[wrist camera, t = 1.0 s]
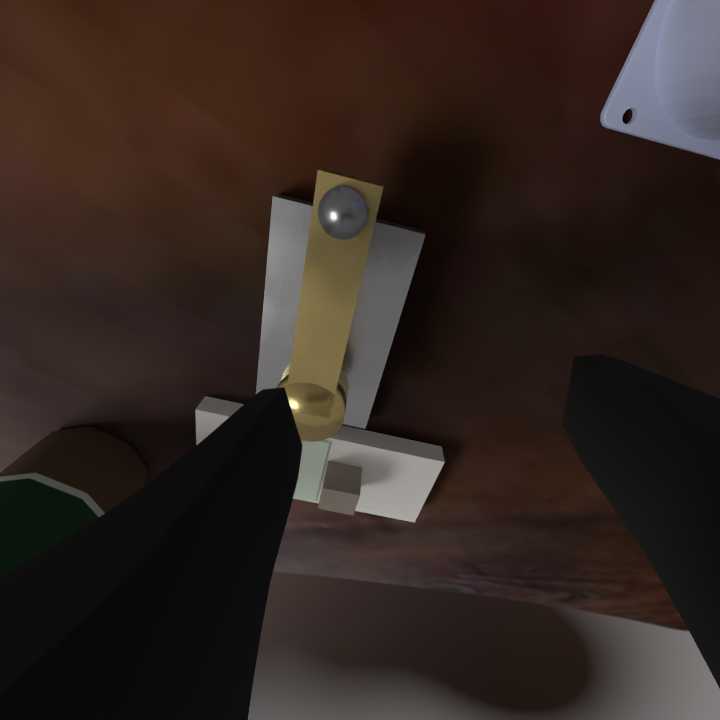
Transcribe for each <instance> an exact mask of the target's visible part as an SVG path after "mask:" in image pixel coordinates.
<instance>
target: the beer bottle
mask: <svg viewBox="0 0 720 720" xmlns="http://www.w3.org/2000/svg"><path fill="white" fill-rule="evenodd" d="M148 475H149V468H148V467H147V465H146V464H145V462H144V461H143V460H142V458H141V457H140V455H139V454H138V453H137V451H136V450H135V449H134V447H133V446H132V444H131V443H129V442H127V441H125V440H123V439H121V438H118V437H116V436H114V435H112V434H109V433H107V432H105V431H103V430H100V429H98V428H96V427H94V426H87V427H79V428H72V429H64V430H58V431H55V432H52V433H51V434H49V435H48V436H47V437H45V438H44V439H43V440H41V441H40V442H38V443H37V444H36V445H34V446H33V447H32V448H30V449H29V450H28V451H27V452H25V453H24V454H23V455H22V456H20V457H19V458H18V459H17V460H16V461H14V462H13V463H12V464H11V465H10V466H8V467H7V468H6V469H5V470H3V471H2V472H1V473H0V576H2V575H4V574H6V573H7V572H9V571H11V570H13V569H14V568H16V567H18V566H20V565H21V564H23V563H25V562H27V561H28V560H30V559H32V558H34V557H35V556H37V555H39V554H40V553H42V552H44V551H46V550H47V549H49V548H50V547H52V546H54V545H55V544H57V543H58V542H60V541H62V540H63V539H65V538H66V537H68V536H70V535H71V534H73V533H74V532H76V531H78V530H79V529H81V528H82V527H84V526H86V525H87V524H89V523H90V522H92V521H94V520H95V519H97V518H98V517H100V516H102V515H103V514H105V513H106V512H108V511H109V510H111V509H112V508H114V507H115V506H117V505H118V504H120V503H121V502H123V501H124V500H125V499H127V498H128V497H130V496H131V495H133V494H134V493H135V492H137V491H138V490H140V489H141V488H142V487H143V485H144V483H145V481H146V479H147V477H148Z"/></svg>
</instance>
